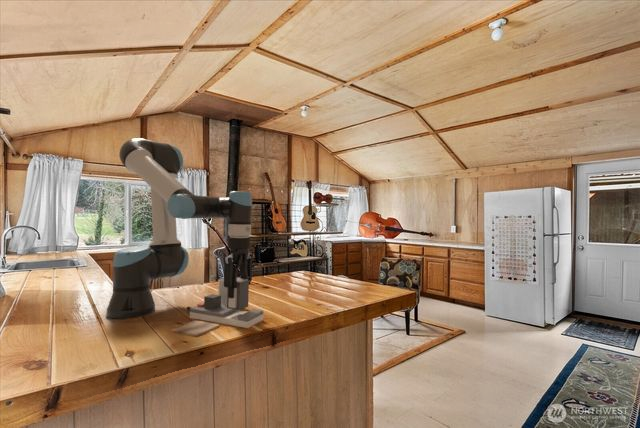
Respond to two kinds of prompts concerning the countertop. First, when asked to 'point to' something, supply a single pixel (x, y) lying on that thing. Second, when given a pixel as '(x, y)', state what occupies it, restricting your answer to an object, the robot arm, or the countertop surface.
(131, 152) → the robot arm
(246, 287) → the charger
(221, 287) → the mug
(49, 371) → the countertop surface
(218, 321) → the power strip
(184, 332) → the coaster
